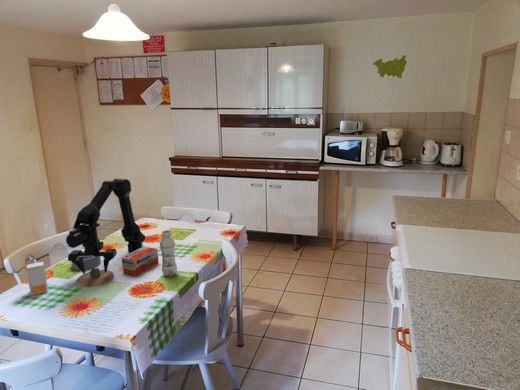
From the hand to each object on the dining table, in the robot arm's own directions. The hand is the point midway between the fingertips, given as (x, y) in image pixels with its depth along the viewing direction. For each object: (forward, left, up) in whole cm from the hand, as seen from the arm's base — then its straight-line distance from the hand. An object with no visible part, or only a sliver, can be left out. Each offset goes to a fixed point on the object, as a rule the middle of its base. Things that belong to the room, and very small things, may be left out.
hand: (95, 272), depth 166 cm
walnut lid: (0, 0, -3) cm, 3 cm away
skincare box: (+19, +10, -3) cm, 22 cm away
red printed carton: (-18, -8, -3) cm, 20 cm away
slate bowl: (+9, -15, -2) cm, 18 cm away
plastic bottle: (-32, 0, -3) cm, 32 cm away
